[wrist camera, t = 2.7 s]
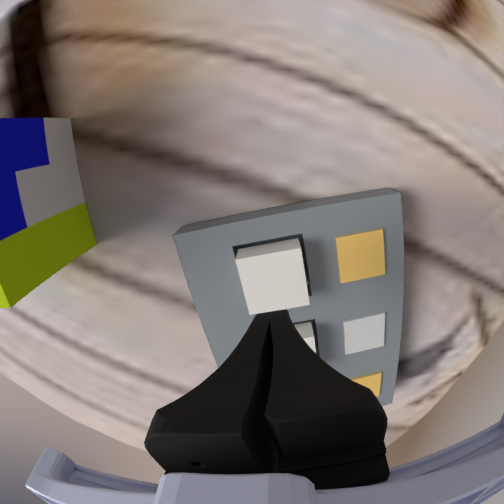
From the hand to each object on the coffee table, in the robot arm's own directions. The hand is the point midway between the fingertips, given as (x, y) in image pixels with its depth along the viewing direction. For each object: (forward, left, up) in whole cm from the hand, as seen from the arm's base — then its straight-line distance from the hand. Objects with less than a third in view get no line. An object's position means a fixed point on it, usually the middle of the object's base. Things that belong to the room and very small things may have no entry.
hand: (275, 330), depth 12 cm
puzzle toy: (+9, +18, -8) cm, 21 cm away
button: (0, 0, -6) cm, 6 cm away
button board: (-6, -1, -8) cm, 10 cm away
